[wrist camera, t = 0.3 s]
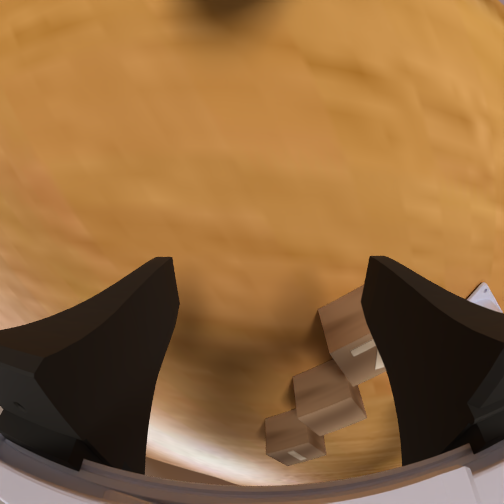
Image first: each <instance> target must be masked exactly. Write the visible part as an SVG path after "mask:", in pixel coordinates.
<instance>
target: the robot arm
mask: <svg viewBox="0 0 504 504" xmlns="http://www.w3.org/2000/svg"><path fill="white" fill-rule="evenodd" d="M179 304H180V302H179V297H178V291H177V285H176V279H175V272H174V266H173V259H172V257H156V258H154V259H152V260H150V261H148V262H147V263H145V264H144V265H142V266H141V267H139V268H138V269H136V270H135V271H133V272H132V273H130V274H129V275H127V276H126V277H124V278H123V279H121V280H120V281H118V282H117V283H115V284H113V285H112V286H110V287H109V288H107V289H105V290H104V291H102V292H101V293H99V294H97V295H95V296H94V297H92V298H90V299H88V300H86V301H84V302H82V303H80V304H78V305H76V306H74V307H72V308H70V309H67V310H65V311H62V312H60V313H58V314H55V315H53V316H50V317H48V318H45V319H42V320H39V321H36V322H32V323H29V324H26V325H22V326H18V327H13V328H9V329H4V330H0V406H1V407H2V408H3V411H2V413H1V415H0V500H1V501H3V502H4V503H5V504H504V314H503V312H502V311H501V309H500V307H499V305H498V303H497V301H496V299H495V298H494V296H493V294H492V292H491V291H490V289H489V287H488V285H487V284H486V283H485V282H483V283H481V284H480V285H479V287H478V288H477V289H476V290H475V291H474V292H473V293H472V294H471V295H470V297H469V298H468V299H467V300H466V299H464V298H461V297H459V296H457V295H455V294H453V293H451V292H449V291H447V290H445V289H443V288H441V287H440V286H438V285H436V284H434V283H432V282H431V281H429V280H427V279H426V278H424V277H422V276H420V275H419V274H417V273H415V272H414V271H412V270H410V269H409V268H407V267H405V266H404V265H402V264H400V263H398V262H396V261H395V260H393V259H391V258H388V257H386V256H370V258H369V263H368V268H367V273H366V278H365V283H364V288H363V293H362V297H361V305H362V309H363V313H364V316H365V320H366V323H367V326H368V328H369V330H370V333H371V335H372V338H373V340H374V342H375V345H376V347H377V349H378V352H379V354H380V356H381V359H382V361H383V364H384V366H385V369H386V371H387V374H388V377H389V381H390V385H391V389H392V393H393V397H394V402H395V407H396V412H397V418H398V424H399V432H400V440H401V453H402V467H399V468H395V469H391V470H387V471H383V472H378V473H374V474H369V475H364V476H359V477H354V478H348V479H342V480H335V481H328V482H319V483H310V484H298V485H282V486H230V485H213V484H202V483H192V482H184V481H177V480H170V479H164V478H157V477H153V476H147V475H145V456H146V444H147V434H148V426H149V419H150V412H151V406H152V400H153V395H154V390H155V385H156V381H157V377H158V374H159V371H160V368H161V365H162V362H163V359H164V356H165V353H166V350H167V348H168V345H169V342H170V339H171V336H172V333H173V330H174V328H175V324H176V319H177V315H178V309H179Z"/></svg>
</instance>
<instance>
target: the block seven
mask: <svg viewBox="0 0 504 504" xmlns="http://www.w3.org/2000/svg"><path fill="white" fill-rule="evenodd" d="M363 288H364V285H362V286H361V287H359V288H357V289H355V290H353V291H351V292H350V293H348V294H346V295H344V296H342V297H340V298H339V299H337V300H335V301H333V302H331V303H329V304H327V305H325V306H323V307H321V308H320V309H318V312H319V316H320V319H321V323H322V327H323V331H324V334H325V338H326V342H327V346H328V350H329V354H330V355H331V356H332V358H333V359H334V361H335V362H336V363H337V365H338V366H339V367H340V369H341V370H342V372H343V373H344V374H345V376H346V377H347V379H348V380H349V382H350V383H351V384H352V386H353V387H354V386H356V385H358V384H361V383H363V382H365V381H367V380H369V379H371V378H373V377H375V376H377V375H379V374H381V373H383V372H385V371H386V369H385V366H384V364H383V361H382V359H381V356H380V354H379V352H378V349H377V347H376V345H375V342H374V340H373V338H372V335H371V333H370V330H369V328H368V326H367V323H366V320H365V316H364V313H363V309H362V305H361V297H362V293H363Z"/></svg>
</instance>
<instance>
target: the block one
mask: <svg viewBox="0 0 504 504" xmlns="http://www.w3.org/2000/svg"><path fill="white" fill-rule="evenodd" d="M265 430H266V455H268V456H270V457H272V458H274V459H276V460H277V461H279V462H281V463H283V464H285V465H287V466H289V465H293V464H297V463H301V462H305V461H308V460H312V459H315V458H319V457H322V456H325V455H326V448H325V442H324V435H322V436H319V435H318V434H316V433H315V432H314V431H313V430H311V429H310V428H309V427H308V426H306V425H305V424H304V423H303V422H302V421H300V420H299V419H298V418H297V410H296V409H293V410H290V411H287V412H284V413H281V414H278V415H275V416H272V417H269V418H266V419H265Z"/></svg>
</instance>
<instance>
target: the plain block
mask: <svg viewBox="0 0 504 504" xmlns="http://www.w3.org/2000/svg"><path fill="white" fill-rule="evenodd" d="M293 384H294V392H295V401H296V410H297V418H298V419H299V420H300V421H302V422H303V423H304V424H305V425H306V426H308V427H309V428H310V429H311V430H313V431H314V432H315V433H316V434H318V435H319V436H322V435H325V434H328V433H331V432H334V431H336V430H339V429H342V428H344V427H347V426H349V425H352V424H354V423H357V422H359V421H362V420H364V419H366V418H367V415H366V412H365V408H364V405H363V401H362V398H361V395H360V391H359V388H358V385H356V386H354V387H353V386H352V384H351V383H350V382H349V380H348V379H347V377H346V376H345V374H344V373H343V372H342V370H341V369H340V367H339V366H338V365H337V363H336V362H335V361H334V359H332V360H330V361H328V362H325V363H323V364H321V365H319V366H316V367H314V368H312V369H310V370H307V371H305V372H303V373H300V374H298V375H295V376H293Z"/></svg>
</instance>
